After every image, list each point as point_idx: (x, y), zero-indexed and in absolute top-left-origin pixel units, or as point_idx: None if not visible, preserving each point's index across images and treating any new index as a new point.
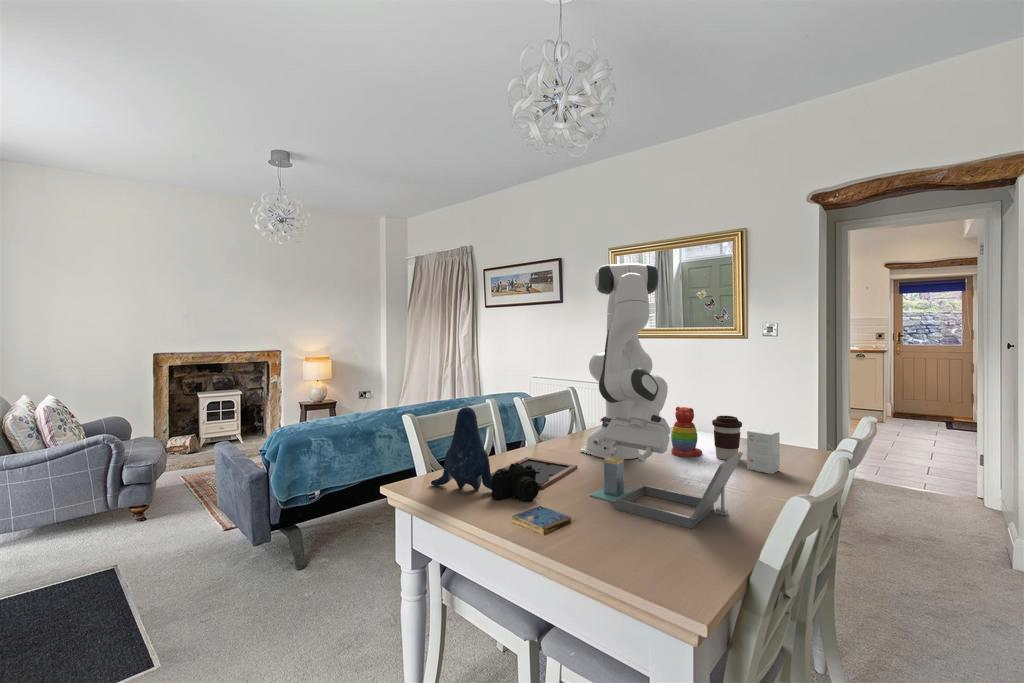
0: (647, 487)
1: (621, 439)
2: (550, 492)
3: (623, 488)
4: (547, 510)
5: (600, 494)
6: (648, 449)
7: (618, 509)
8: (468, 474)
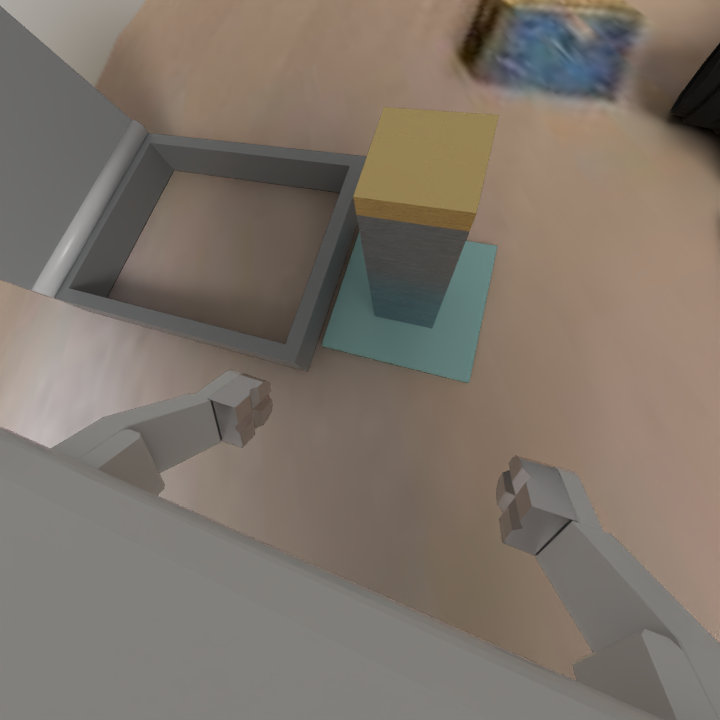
0: (273, 341)
1: (543, 700)
2: (668, 218)
3: (373, 305)
4: (566, 85)
5: (457, 266)
6: (102, 434)
7: None
8: None
